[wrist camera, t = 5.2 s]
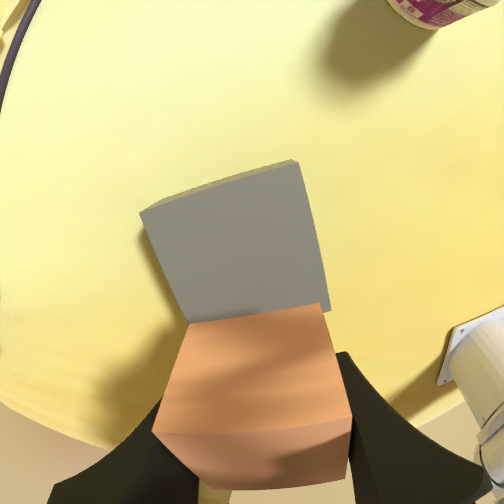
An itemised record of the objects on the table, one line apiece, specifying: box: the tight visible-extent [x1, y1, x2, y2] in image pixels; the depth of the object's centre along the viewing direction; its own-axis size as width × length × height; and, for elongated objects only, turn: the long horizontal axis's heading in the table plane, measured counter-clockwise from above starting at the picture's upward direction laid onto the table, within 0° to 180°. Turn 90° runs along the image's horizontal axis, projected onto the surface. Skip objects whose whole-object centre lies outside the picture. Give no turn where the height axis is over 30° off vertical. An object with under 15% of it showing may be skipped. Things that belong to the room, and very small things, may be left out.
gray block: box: [139, 159, 331, 325], centre depth 15 cm, size 8×8×4 cm
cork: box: [198, 479, 232, 504], centre depth 21 cm, size 6×6×11 cm
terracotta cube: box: [152, 302, 352, 490], centre depth 9 cm, size 5×5×5 cm
